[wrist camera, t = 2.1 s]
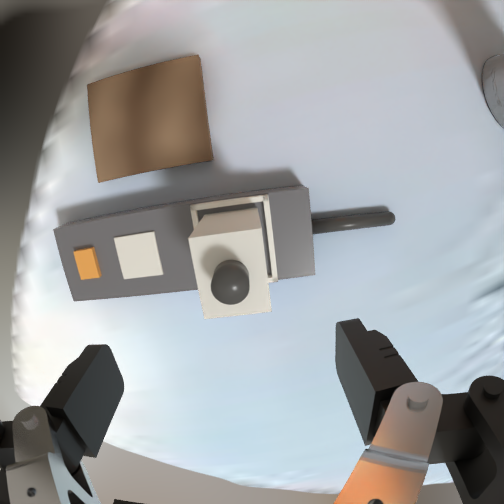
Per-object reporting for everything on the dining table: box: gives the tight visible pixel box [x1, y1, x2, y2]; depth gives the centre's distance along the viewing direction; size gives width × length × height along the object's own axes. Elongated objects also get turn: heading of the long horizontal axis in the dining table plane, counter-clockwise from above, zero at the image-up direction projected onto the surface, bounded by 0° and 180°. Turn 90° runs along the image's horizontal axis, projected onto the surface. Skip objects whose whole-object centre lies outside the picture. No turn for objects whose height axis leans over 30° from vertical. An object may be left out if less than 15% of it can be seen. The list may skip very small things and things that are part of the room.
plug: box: [188, 208, 272, 319], centre depth 20 cm, size 4×5×8 cm
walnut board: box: [87, 55, 213, 183], centre depth 23 cm, size 10×9×1 cm
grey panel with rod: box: [53, 185, 395, 301], centre depth 25 cm, size 30×7×3 cm, turn 97°
